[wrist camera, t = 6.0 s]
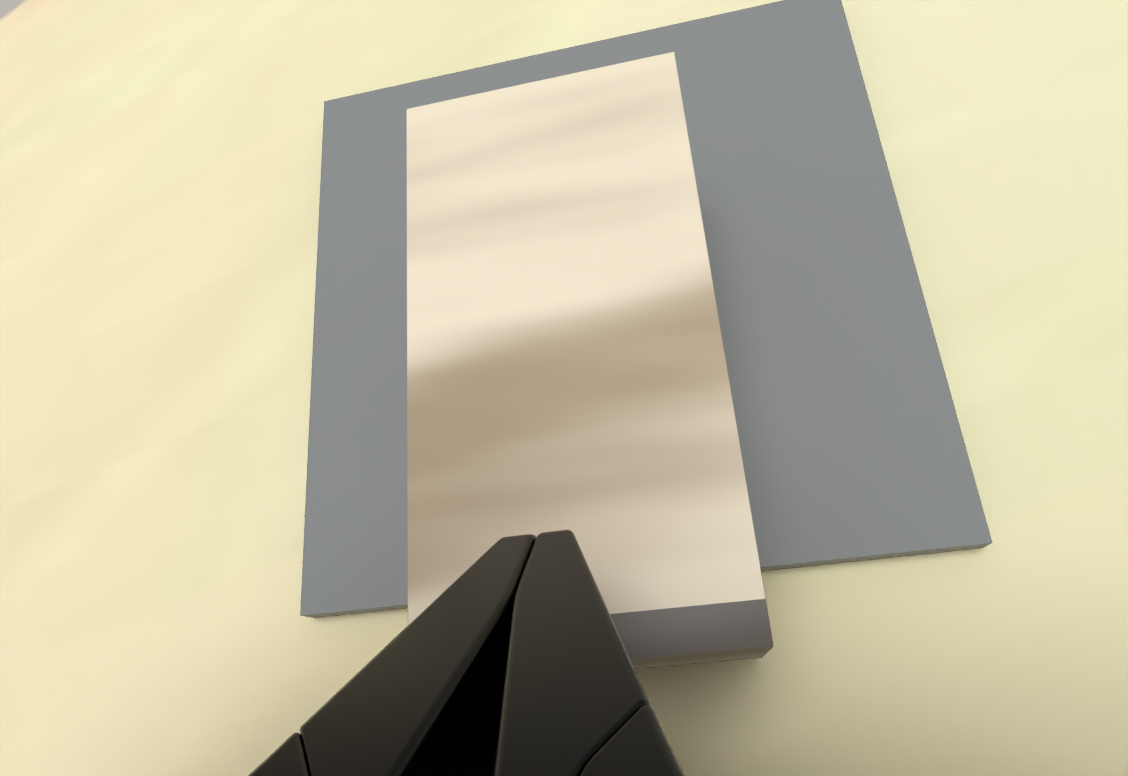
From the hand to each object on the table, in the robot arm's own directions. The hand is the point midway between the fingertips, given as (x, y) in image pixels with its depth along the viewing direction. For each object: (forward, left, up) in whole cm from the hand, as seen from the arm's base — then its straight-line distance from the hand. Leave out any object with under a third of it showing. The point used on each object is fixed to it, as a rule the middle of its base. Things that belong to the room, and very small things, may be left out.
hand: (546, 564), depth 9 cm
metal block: (-1, 0, -4) cm, 5 cm away
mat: (+8, 0, -8) cm, 11 cm away
